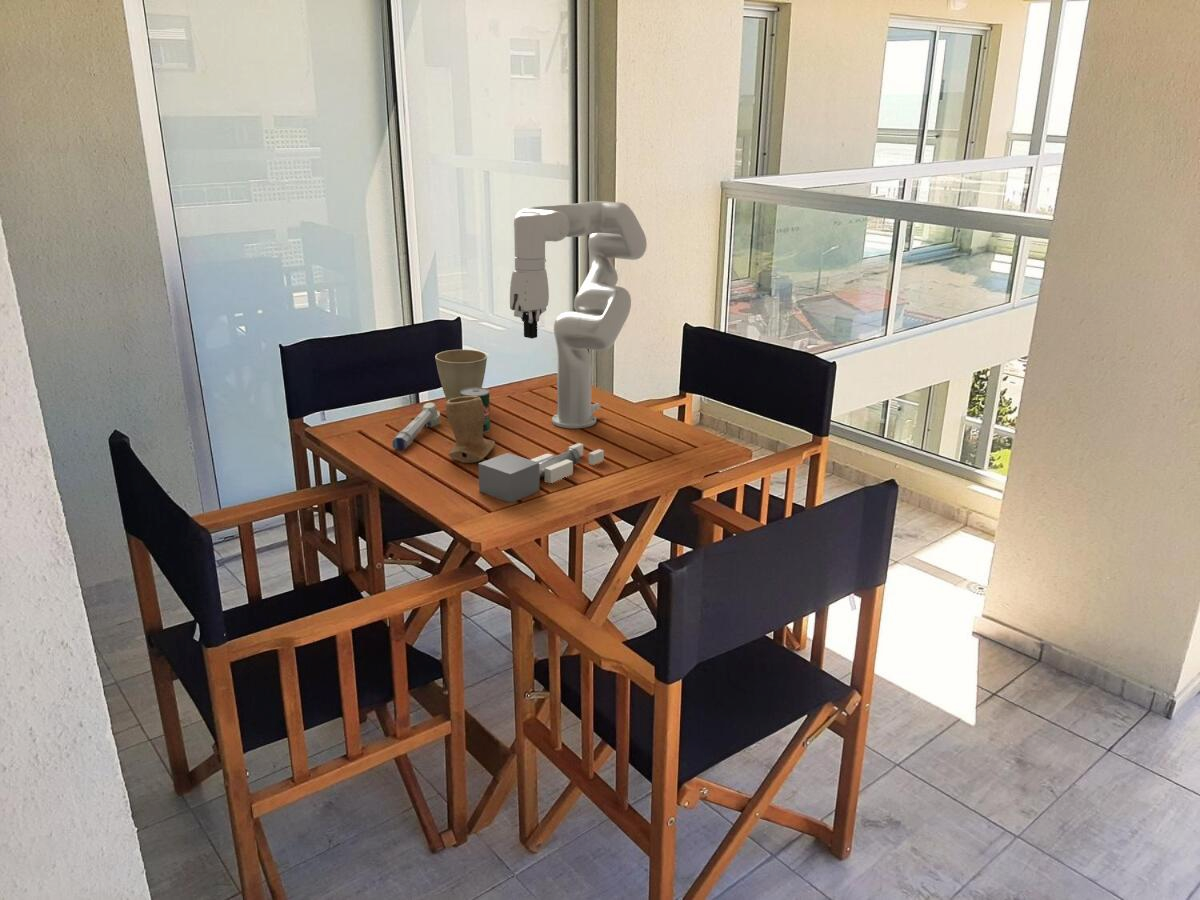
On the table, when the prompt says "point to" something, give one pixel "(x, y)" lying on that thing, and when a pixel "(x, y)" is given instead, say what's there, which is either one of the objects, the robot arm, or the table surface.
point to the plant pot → (460, 370)
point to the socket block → (508, 477)
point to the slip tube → (559, 460)
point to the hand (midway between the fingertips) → (530, 337)
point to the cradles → (567, 463)
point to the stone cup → (468, 429)
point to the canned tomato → (484, 396)
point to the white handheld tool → (417, 426)
